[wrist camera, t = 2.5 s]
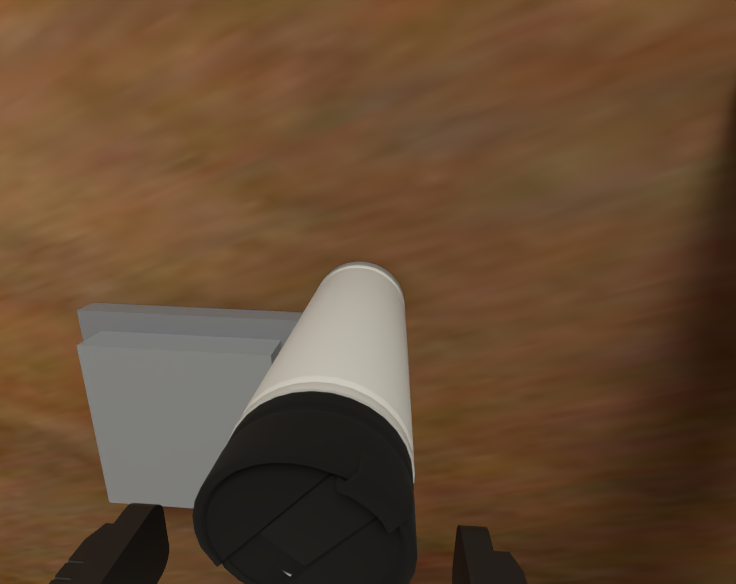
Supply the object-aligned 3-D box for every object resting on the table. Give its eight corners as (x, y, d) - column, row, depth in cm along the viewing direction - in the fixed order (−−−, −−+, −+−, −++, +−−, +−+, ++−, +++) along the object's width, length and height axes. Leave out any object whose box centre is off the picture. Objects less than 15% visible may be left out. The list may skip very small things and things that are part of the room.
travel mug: (426, 300, 29) (484, 567, 10) (362, 359, 31) (308, 683, 12) (361, 238, 28) (290, 406, 9) (298, 303, 30) (127, 559, 11)
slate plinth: (92, 302, 31) (50, 323, 27) (306, 312, 30) (293, 335, 26) (126, 478, 36) (93, 516, 32) (310, 491, 35) (299, 531, 31)
